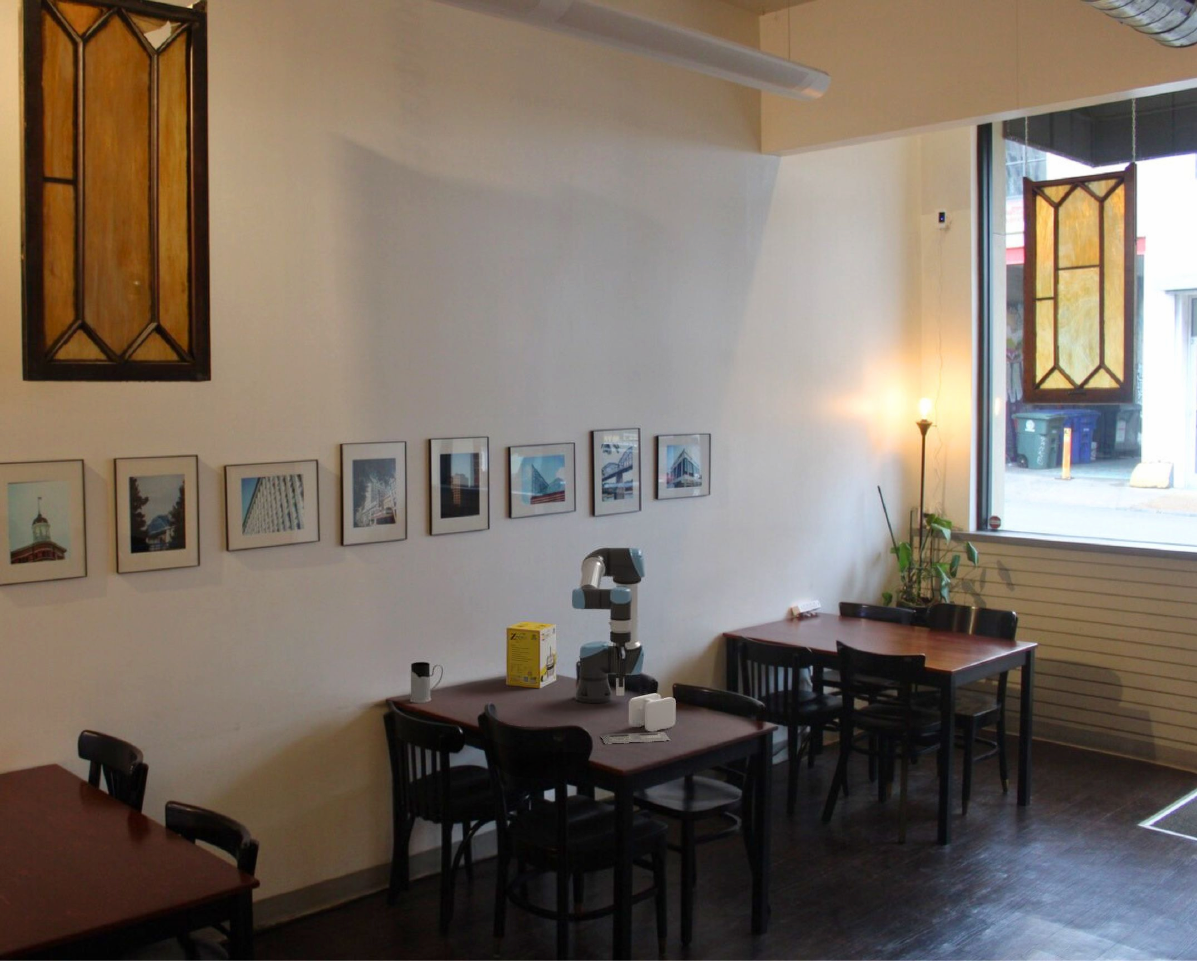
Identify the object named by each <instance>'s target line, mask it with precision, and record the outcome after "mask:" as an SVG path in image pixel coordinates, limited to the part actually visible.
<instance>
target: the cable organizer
mask: <svg viewBox="0 0 1197 961" xmlns="http://www.w3.org/2000/svg"><path fill="white" fill-rule="evenodd" d="M676 708H677V707H676V699H675V698H673V697H671V696H670V697H669V696H668V697H664V698H662V696H661V694H660V693H656V692H654V693H649V694H645V695H640V696H636V697H632V698H631V699H629V701H628V725H629V726H630V727H633V728H636V727H637V728H640V727H641V726H642V727H643V726H644V728H645V730H646V731H648V732H649V733H653V732H654V731H655V732H658V731H659V730H667V728H668V729H671V728H672V727H674V725H675V724H676V712H677V711H676ZM670 727H671V728H670ZM657 730H658V731H657Z"/></svg>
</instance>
